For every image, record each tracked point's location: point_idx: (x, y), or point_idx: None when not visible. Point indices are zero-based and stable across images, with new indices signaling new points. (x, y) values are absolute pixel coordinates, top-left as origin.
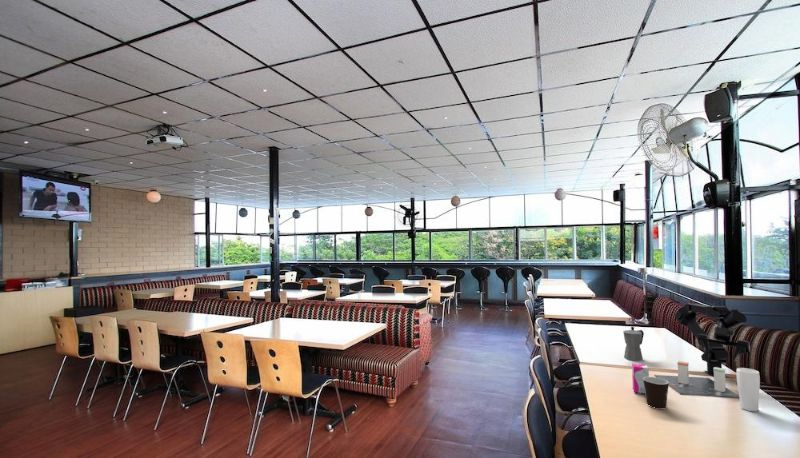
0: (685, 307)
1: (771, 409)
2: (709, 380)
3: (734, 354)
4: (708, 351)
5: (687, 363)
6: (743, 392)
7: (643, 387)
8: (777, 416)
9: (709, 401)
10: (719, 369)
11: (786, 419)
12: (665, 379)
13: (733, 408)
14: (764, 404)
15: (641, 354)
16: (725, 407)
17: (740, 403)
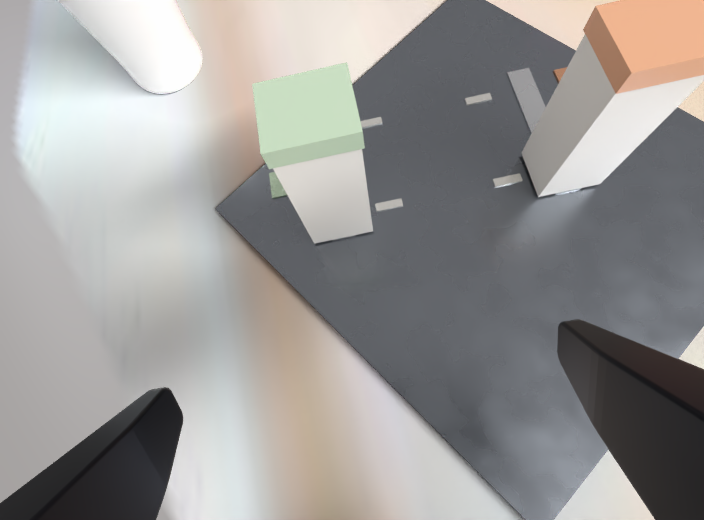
0: None
1: (90, 153)
2: (490, 435)
3: (65, 482)
4: (628, 368)
5: (608, 27)
6: None
7: None
8: (72, 82)
9: (326, 19)
10: (296, 83)
11: (43, 77)
12: (679, 143)
13: (225, 23)
14: (118, 204)
15: None
16: (253, 7)
17: (190, 29)
